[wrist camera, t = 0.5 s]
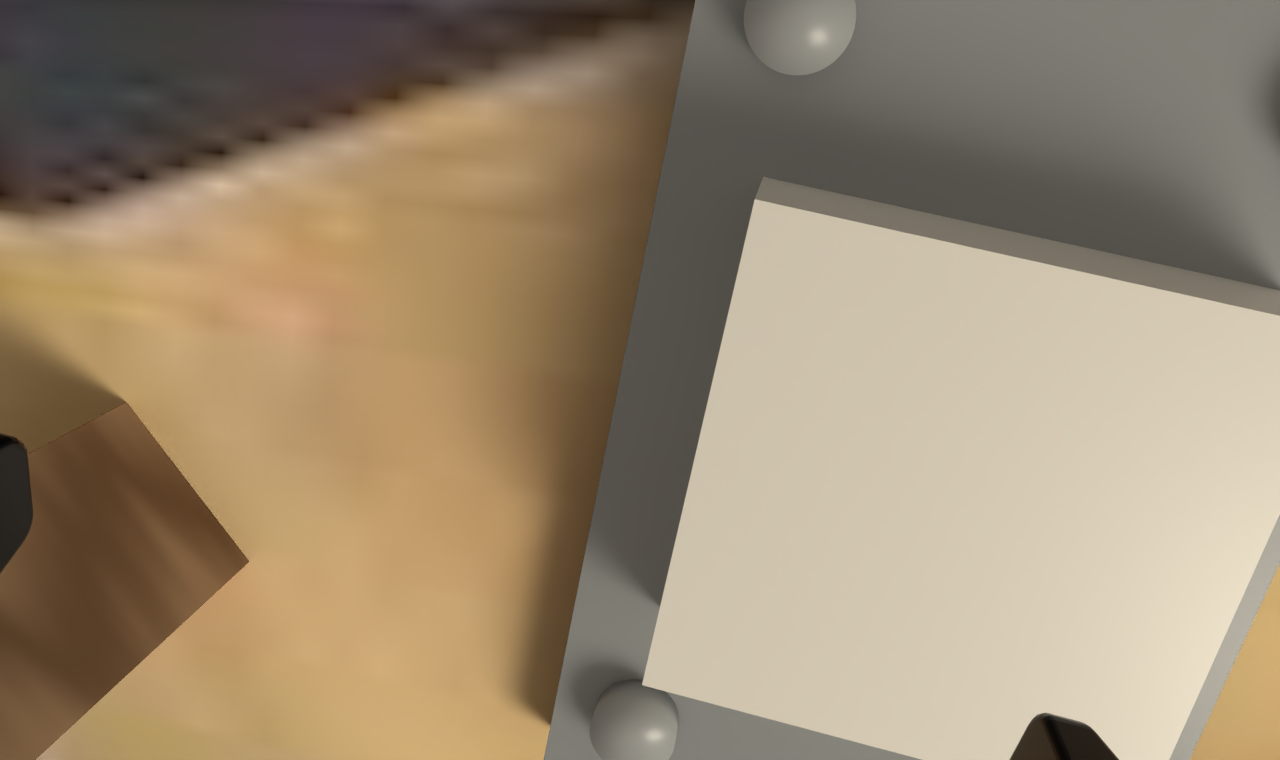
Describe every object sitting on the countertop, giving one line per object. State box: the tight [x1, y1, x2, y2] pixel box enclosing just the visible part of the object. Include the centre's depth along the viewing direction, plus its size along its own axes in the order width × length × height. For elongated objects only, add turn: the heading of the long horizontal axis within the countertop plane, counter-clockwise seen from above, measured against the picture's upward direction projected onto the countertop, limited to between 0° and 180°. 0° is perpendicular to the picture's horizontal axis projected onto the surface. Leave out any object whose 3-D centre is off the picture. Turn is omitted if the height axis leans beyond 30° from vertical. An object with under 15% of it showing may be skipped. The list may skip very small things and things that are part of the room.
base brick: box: [544, 0, 1280, 760], centre depth 21 cm, size 20×14×4 cm
